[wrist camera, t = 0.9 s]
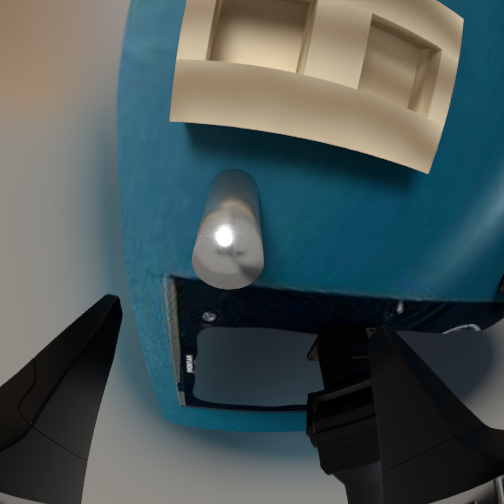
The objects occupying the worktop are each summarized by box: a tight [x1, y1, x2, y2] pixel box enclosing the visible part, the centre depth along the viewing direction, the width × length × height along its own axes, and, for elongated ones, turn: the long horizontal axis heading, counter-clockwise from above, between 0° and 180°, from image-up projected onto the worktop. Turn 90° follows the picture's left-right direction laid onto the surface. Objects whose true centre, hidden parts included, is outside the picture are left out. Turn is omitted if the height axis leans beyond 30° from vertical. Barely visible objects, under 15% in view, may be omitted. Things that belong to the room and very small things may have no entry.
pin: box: [192, 169, 264, 289], centre depth 16 cm, size 3×3×8 cm
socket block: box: [170, 0, 463, 174], centre depth 12 cm, size 12×16×3 cm
